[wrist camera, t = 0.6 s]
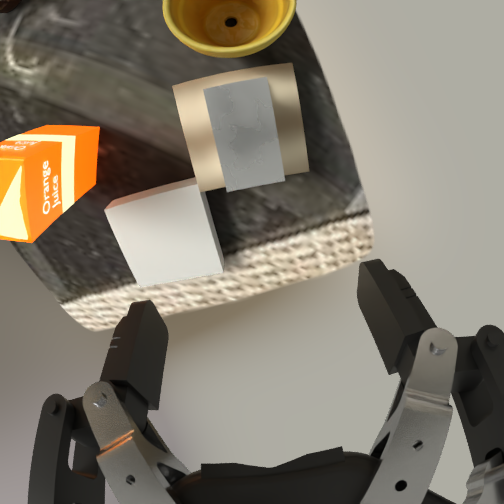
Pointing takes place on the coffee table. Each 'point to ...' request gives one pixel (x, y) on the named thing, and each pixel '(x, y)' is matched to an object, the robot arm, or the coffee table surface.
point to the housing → (245, 133)
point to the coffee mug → (8, 5)
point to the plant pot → (218, 34)
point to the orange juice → (44, 177)
